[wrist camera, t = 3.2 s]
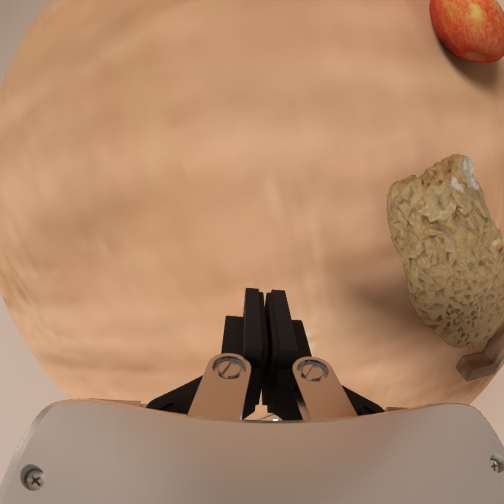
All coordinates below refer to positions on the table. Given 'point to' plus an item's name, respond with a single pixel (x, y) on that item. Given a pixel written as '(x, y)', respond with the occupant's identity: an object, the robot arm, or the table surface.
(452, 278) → the sponge
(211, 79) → the table surface
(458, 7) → the apple
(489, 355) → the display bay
